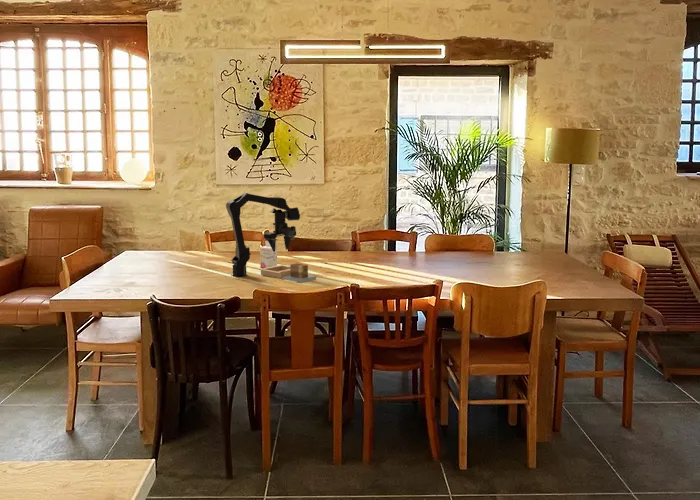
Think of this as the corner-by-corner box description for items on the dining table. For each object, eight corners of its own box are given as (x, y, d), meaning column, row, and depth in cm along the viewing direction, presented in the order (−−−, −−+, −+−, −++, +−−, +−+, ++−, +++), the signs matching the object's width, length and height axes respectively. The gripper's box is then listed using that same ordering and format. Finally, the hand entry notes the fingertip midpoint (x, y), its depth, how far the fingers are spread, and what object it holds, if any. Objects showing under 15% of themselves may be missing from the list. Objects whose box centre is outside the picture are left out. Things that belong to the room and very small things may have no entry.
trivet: (299, 282, 373) (299, 279, 372) (282, 279, 380) (282, 276, 380) (316, 279, 381) (316, 276, 381) (299, 276, 389) (299, 273, 389)
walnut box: (301, 278, 376) (301, 266, 375) (290, 276, 382) (290, 264, 381) (308, 276, 380) (307, 264, 379) (296, 274, 385) (296, 263, 384)
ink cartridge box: (259, 268, 412) (259, 241, 410) (265, 266, 416) (265, 240, 414) (272, 269, 407) (271, 242, 405) (277, 268, 412) (277, 241, 409)
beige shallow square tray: (279, 279, 380) (278, 272, 380) (259, 275, 390) (259, 268, 390) (301, 274, 393) (301, 267, 392) (282, 271, 402) (281, 264, 402)
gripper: (277, 224, 382) (278, 254, 384) (303, 220, 396) (303, 249, 398) (262, 222, 389) (263, 252, 391) (288, 219, 403) (289, 247, 405)
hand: (280, 250), depth 396 cm, fingers open, 9 cm apart
